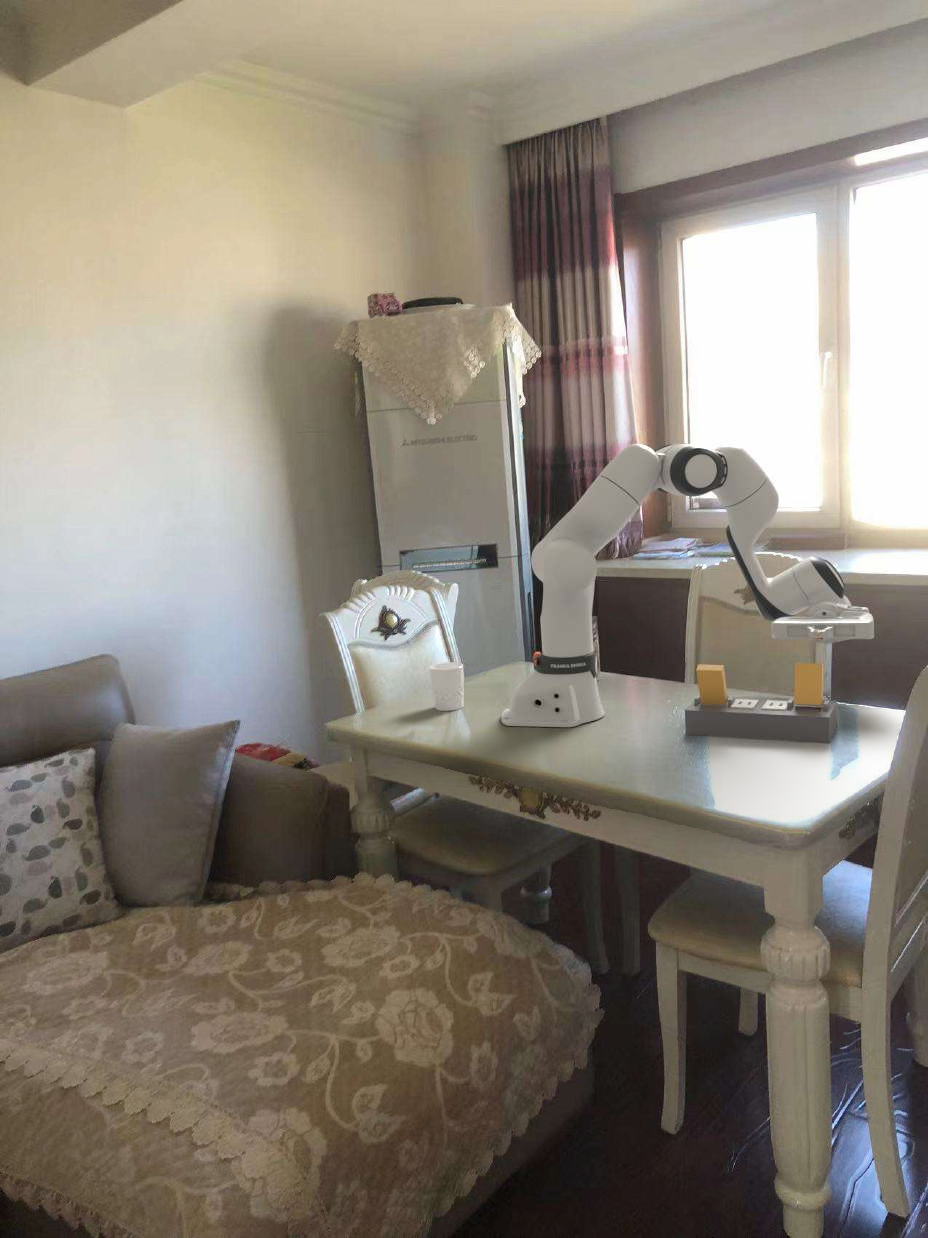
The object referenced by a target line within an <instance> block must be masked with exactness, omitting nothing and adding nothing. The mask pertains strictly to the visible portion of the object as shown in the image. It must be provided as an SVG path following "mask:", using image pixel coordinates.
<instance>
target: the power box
mask: <svg viewBox="0 0 928 1238" xmlns="http://www.w3.org/2000/svg"><path fill="white" fill-rule="evenodd" d="M837 702H838V701H837V700H830V699H829V700H828V699H825V700H824V699H823V706H808V705H795V704H794V698H778V697H761V696H760V697H759V696H758V697H757V696H756V697H755V696H735V695H733V696H731V695H728V700H727V703H726V704H708V703H701V700H700V694H697V695H696V696H694V699H693V701H692V702H691V703H690V704H689V705H688V706H687V707H686V708H685V709H684V720H685V721H684V722H685V724H684V725H685V735H687V736H688V735H689V736H704V737H707V736H708V737H724V738H737V739H738V738H741V739H754V740H755V739H758V740H773V741H791V742H803V743H804V742H806V743H825V744H830V742H831V740H832V739H833V736H834V734H835V731H836V729H837V727H838V703H837Z"/></svg>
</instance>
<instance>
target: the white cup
mask: <svg viewBox="0 0 928 1238" xmlns="http://www.w3.org/2000/svg"><path fill="white" fill-rule="evenodd" d="M429 673H430V683H431V690H432V696H433V697H432V698H433V700H434V708H435V710H437V711H441V712H453V711H458V710H461V709H463V708H464V707H465V702H464V701H465V698H464V696H465V686H464V685H465V681H464V680H465V676H464V664H463V663H461V662H458V661H457V662H456V661H455V662H454V661H450V662H449V661H447V662H440V663H435V664H432V665H430V666H429Z"/></svg>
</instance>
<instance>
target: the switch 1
mask: <svg viewBox="0 0 928 1238" xmlns="http://www.w3.org/2000/svg"><path fill="white" fill-rule="evenodd" d="M695 671H696V677H697V684H698V691H699V693H698V694H699V695H700V700H701V703H708V704H726V703H727V700H728V696H729V695H728V689H727V681H726V673H725V671H726V670H725V666H724V664H697V667H696V670H695Z"/></svg>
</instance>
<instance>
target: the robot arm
mask: <svg viewBox="0 0 928 1238" xmlns="http://www.w3.org/2000/svg"><path fill="white" fill-rule="evenodd" d="M656 490H657V491H658V490H659V491H660V492H662V493H668V494H672V495H674V496H678V497H700V496H704V495H706V494H708V493H711V492H712V493H713V494H714V495H715V496H716V498H717V499H718V500H719V502H720V503H721V505H722V507H723V508H724V509H725V511H726V513H727V516H728V525H727V526H726V529H725V532H726V533H725V534H726V538H727V542H728V545H729V546H730V549H731V551H732V554H733V556H734V559H735V560H736V563H737V565H738V568H739V569H740V571H741V573H742V575H743V578H744V579H745V582H746V583H747V585H748V588H749V590H750V591H751V592H750V593H751V595H752V597H753V600H754V603H755V606H756V608H757V610H758V612H759V614H760V615H761V616H762V617H763V618H764V620H765V621H768V622H770V623H771V625H770V626H771V627H770V628H771V637H772V638H773V639H775V640H808V639H809V640H810V641H811V640H813V641H814V642H816V643H818V644H823V645H831V644H834V643H837V642H843V641H847V640H872V639H874V638H875V622H874V616H873V615H872V614H871V613H870V610H869V609H870V608H868V607H863V606H856V605H855V606H854V605H852V603H851V602H850V600H849V598H848V597H847V596H846V595H845V593H846V586H845V585H846V584H845V583H844V581H843V577H842V576H841V575H840V573H839V571H838V570H837V569H836V567H835V566H834V565H833V564H832V563H831V562H830V561H828V560H827V559H825V558H822V557H820V556H815V555H811V556H809V557H807V558H806V559H804V560H801V561H800V562H798V563H796V564H795V565H793V566H791V567H790V568H788V569H786V570H784V571H782V572H781V573H778V574H777V575H775V576H773V577H767V576H766V574H765V572H764V569H763V568H762V566H761V564H760V562H759V559H758V556H757V555H756V553H755V550H754V546H755V543H756V542H757V540H758V539H759V538H760V536H761V535H762V534H763V533H764V531H765V530H766V528H768V527H769V526H770V524H771V523H772V521H773V520H774V517H775V516H776V513H777V511H778V508H779V499H780V498H779V494H778V492H777V490H776V487H775V486H774V484H773V482H772V481H771V479H770V478H769V476H767V473H766V472H765V471H764V470H763V468H762V467H761V465H759V463H758V462H757V461H756V460H755V459H754V458H753V457H752V456H751V455H750V453H749V452H747V451H746V450H745V449H744V448H743V447H741V446H740V445H738V444H735V443H727V444H724V445H721V446H719V447H717V448H715V449H711V448H709V447H707V446H704V445H699V444H691V443H685V442H683V443H682V442H681V443H673V444H667V445H664V446H662V447H659V448H657V449H652V448H651V447H649V446H646V445H644V444H641V443H631V444H629V445H627V446H625V448H623V449H622V450H621V451H620V452H619V453H618V454H617V455H615V456H614V457H613V459H612V460H611V461H610V462H609V463H607V465H606V466H605V467H604V468H603V470H601V472H600V473H599V474H598V476H597V477H596V478H595V479H594V481H593V482H592V483H591V484H590V486H589V487H588V488H587V489H586V491H585V492H584V494H583V495H582V496H581V497H580V499H579V500H578V501H577V502H576V503H575V504H574V506H573V507H572V508H571V509H570V510H569V511H568V512H567V513H565V515H564V516H563V517H562V518H561V519H560V520H559V521H558V522H557V523H556V524H555V525H554V526H553V528H552V529H551V530H549V532H548V533H547V534H546V535H545V536H544V537H543V538H542V539H541V541H539V542H538V543H537V544H536V545H535V546H534V548H533V550H532V552H531V558H530V559H531V561H530V563H531V568H532V571H533V573H534V575H535V576H536V578H538V580H539V581H541V582H542V585H543V587H542V588H543V591H542V593H543V594H542V604H541V605H542V607H541V613H540V634H541V635H540V637H541V651H542V652H540V651H536V652H534V654H533V656H532V660H533V669H534V671H533V672H532V673H530V674H529V675H528V676H527V677H525V679H523V680H522V681H521V682H519V684H517V686H516V687H515V688H514V689H513V692H512V694H511V699H510V706H509V707H507V708H506V709H504V710H503V711H502V713H501V717H500V718H501V723H502V724H503V725H505V726H509V727H546V728H547V727H549V728H574V727H576V726H579V725H582V724H585V723H589V722H592V721H596V720H599V719H601V718H603V717H604V716H605V714H606V712H605V710H604V707H603V704H602V702H601V697H600V693H599V688H598V682H597V681H596V676H597V657H596V652H595V651H594V650H593V632H592V616H593V605H594V595H595V584H596V581H595V580H596V578H597V577H596V576H597V575H598V574H597V573H598V563H597V559H596V557H595V556H596V555H597V554H598V553H599V552H600V551H602V549H604V547H605V546H607V545H608V544H609V543H610V542H611V541H612V540H614V539H616V538H617V537H618V536H619V534H620V533H621V532H622V530H623V529H624V528H625V526H626V525H627V524H628V523H629V521H630V520H631V519H632V518H633V516H634V515H635V514H636V513H637V511H639V509H640V507H641V506H642V505H643V503H644V502H645V501H646V499H647V498H648V497H649V496H650V495H651V494H652V493H654V492H655V491H656ZM808 608H809V610H808V611H807V613H806V614H805V616H796V614H798V613H800V612H802V611H804V610H806V609H808Z"/></svg>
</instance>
